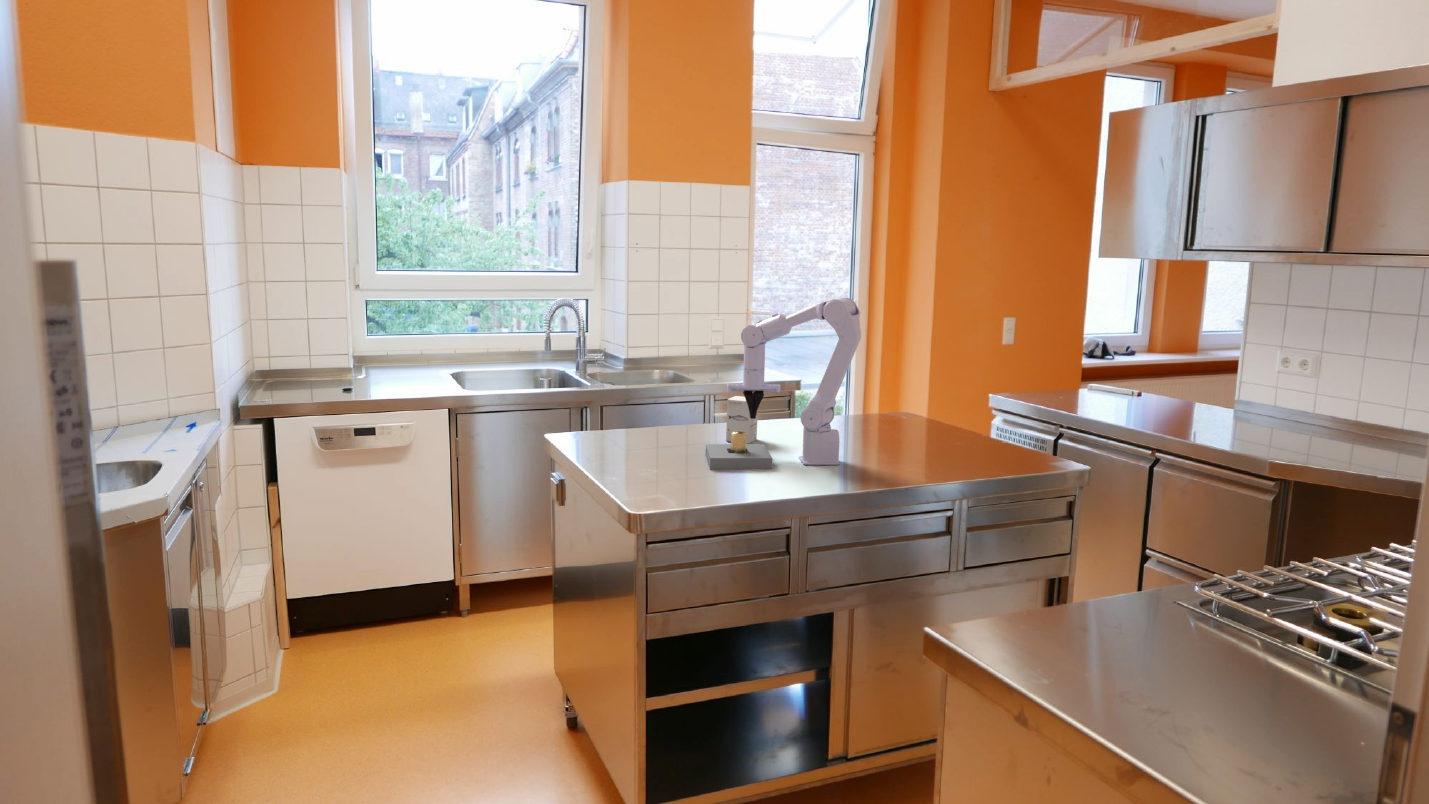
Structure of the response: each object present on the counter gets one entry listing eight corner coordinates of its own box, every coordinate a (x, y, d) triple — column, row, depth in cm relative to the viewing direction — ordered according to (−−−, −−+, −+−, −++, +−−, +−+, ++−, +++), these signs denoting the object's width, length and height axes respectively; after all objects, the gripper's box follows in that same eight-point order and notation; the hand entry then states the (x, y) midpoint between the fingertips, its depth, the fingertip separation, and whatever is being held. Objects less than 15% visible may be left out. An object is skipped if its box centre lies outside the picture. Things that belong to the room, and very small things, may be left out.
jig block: (763, 454, 249) (763, 444, 249) (772, 469, 233) (772, 458, 233) (705, 454, 248) (705, 444, 247) (710, 469, 232) (710, 458, 231)
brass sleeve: (744, 459, 243) (745, 430, 241) (746, 463, 239) (747, 434, 237) (729, 459, 242) (730, 430, 241) (731, 463, 238) (732, 434, 237)
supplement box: (725, 441, 264) (726, 399, 262) (734, 436, 271) (735, 395, 269) (749, 444, 262) (750, 401, 259) (757, 439, 268) (758, 397, 266)
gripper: (778, 367, 251) (776, 415, 254) (726, 366, 250) (725, 415, 252) (782, 370, 244) (780, 420, 247) (728, 370, 243) (727, 420, 245)
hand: (752, 418), depth 249 cm, fingers closed
